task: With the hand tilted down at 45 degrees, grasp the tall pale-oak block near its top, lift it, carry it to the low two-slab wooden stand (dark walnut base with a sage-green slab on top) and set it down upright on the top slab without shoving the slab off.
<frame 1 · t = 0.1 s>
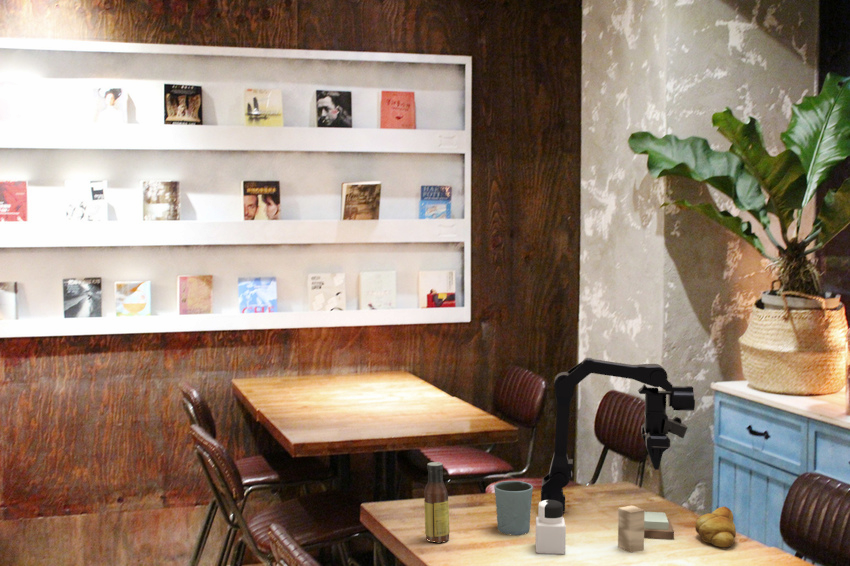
hand: (654, 465, 244), 15 cm above the table, tool pointing down, fingers open, 9 cm apart
sauce bottle: (436, 540, 225), on the table
bread roll: (715, 542, 225), on the table
sage slab: (650, 524, 232), point 2 cm above the table, touching walnut base slab
medicine bottle: (550, 549, 219), on the table
walnut base slab: (650, 531, 232), on the table
teal cup: (513, 530, 233), on the table
oak block: (630, 548, 220), on the table
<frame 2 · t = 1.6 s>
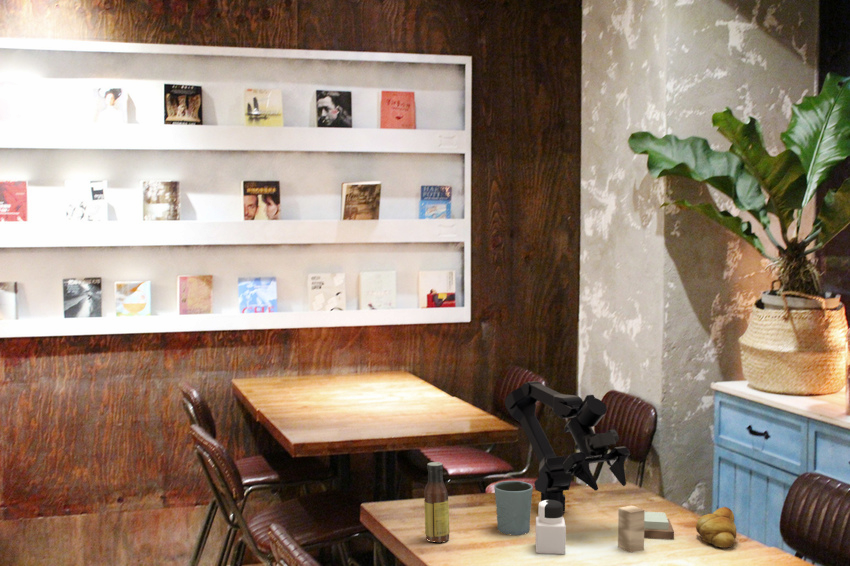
hand: (611, 487, 226), 13 cm above the table, tool tilted 45°, fingers open, 9 cm apart
nothing on the table moved.
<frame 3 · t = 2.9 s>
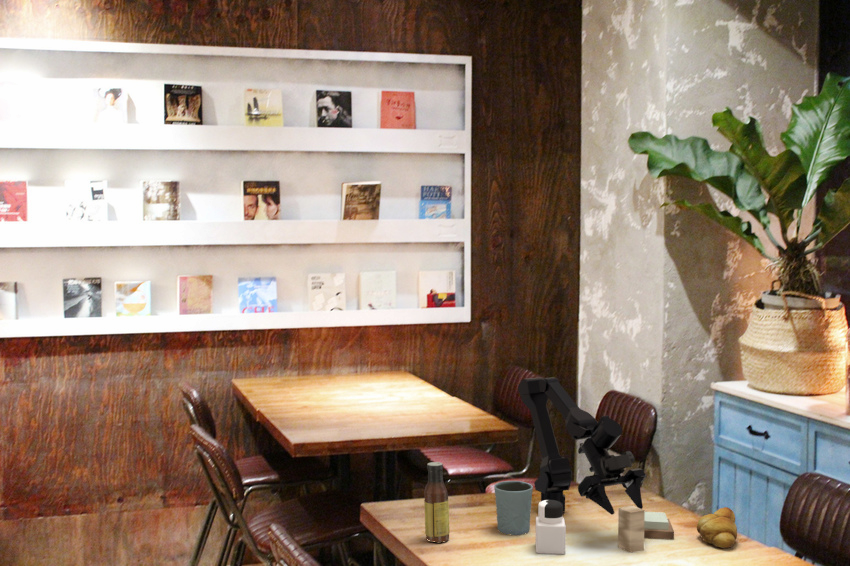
hand: (627, 511, 220), 9 cm above the table, tool tilted 45°, fingers open, 9 cm apart
nothing on the table moved.
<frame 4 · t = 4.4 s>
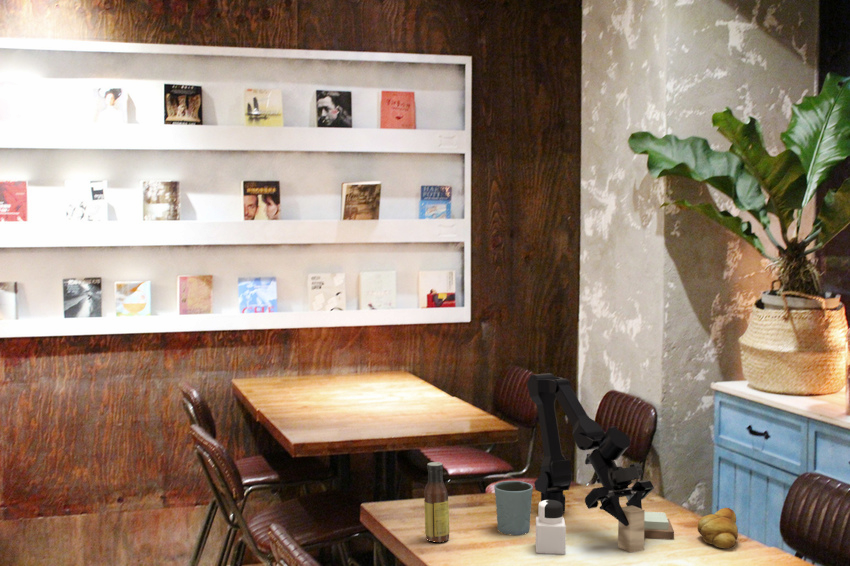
hand: (635, 523, 218), 7 cm above the table, tool tilted 45°, fingers closed on oak block, 4 cm apart
oak block: (630, 548, 220), on the table, touching gripper
everything else where it was.
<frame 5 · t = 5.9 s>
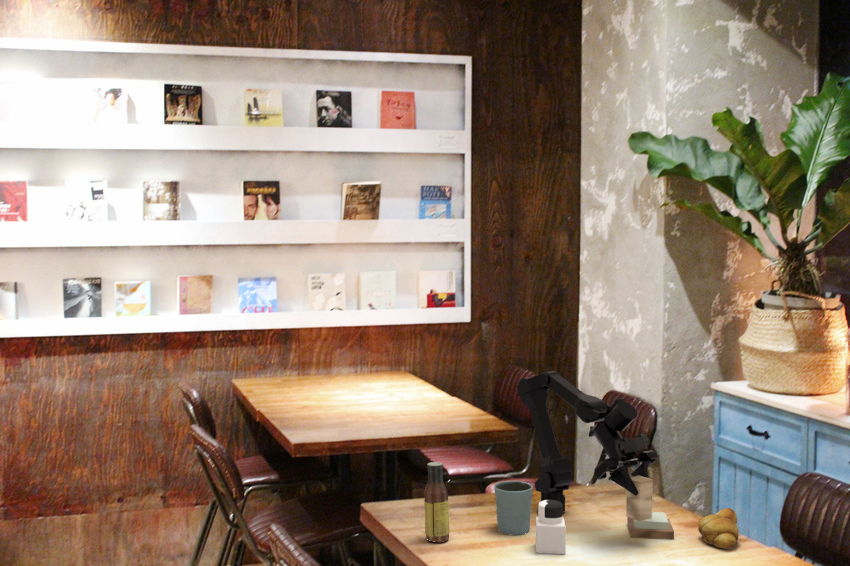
hand: (643, 493, 221), 13 cm above the table, tool tilted 45°, fingers closed on oak block, 4 cm apart
oak block: (638, 517, 222), point 7 cm above the table, touching gripper
when the fingers open (11 cm above the table, at t = 7.5 s): oak block stays where it is, resting on sage slab.
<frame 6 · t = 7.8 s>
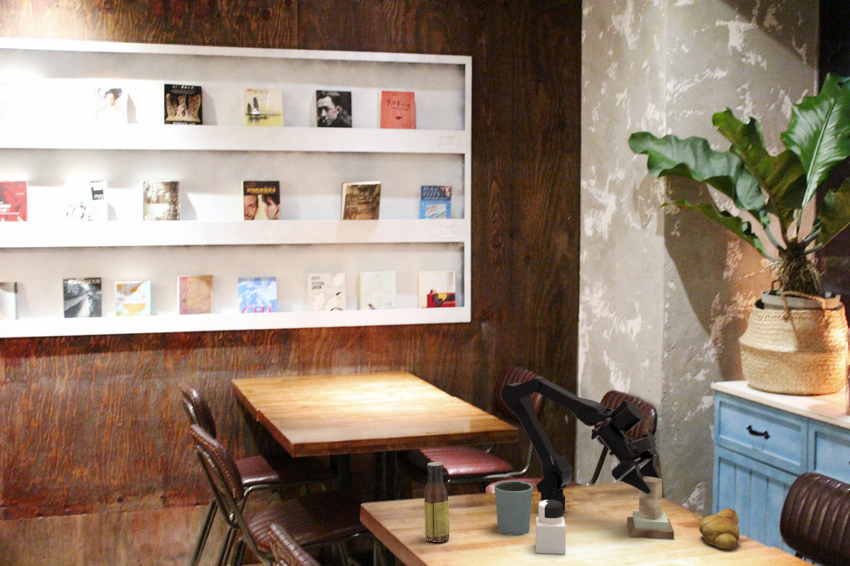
hand: (655, 489, 231), 12 cm above the table, tool tilted 45°, fingers open, 8 cm apart
sage slab: (650, 524, 232), point 2 cm above the table, touching oak block, walnut base slab
oak block: (650, 516, 232), point 4 cm above the table, touching sage slab
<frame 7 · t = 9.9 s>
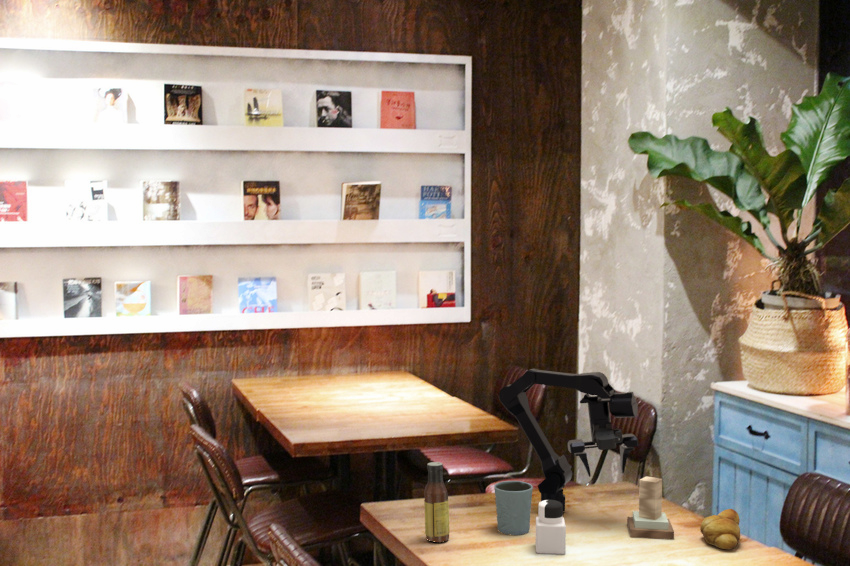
hand: (606, 474, 242), 13 cm above the table, tool pointing down, fingers open, 9 cm apart
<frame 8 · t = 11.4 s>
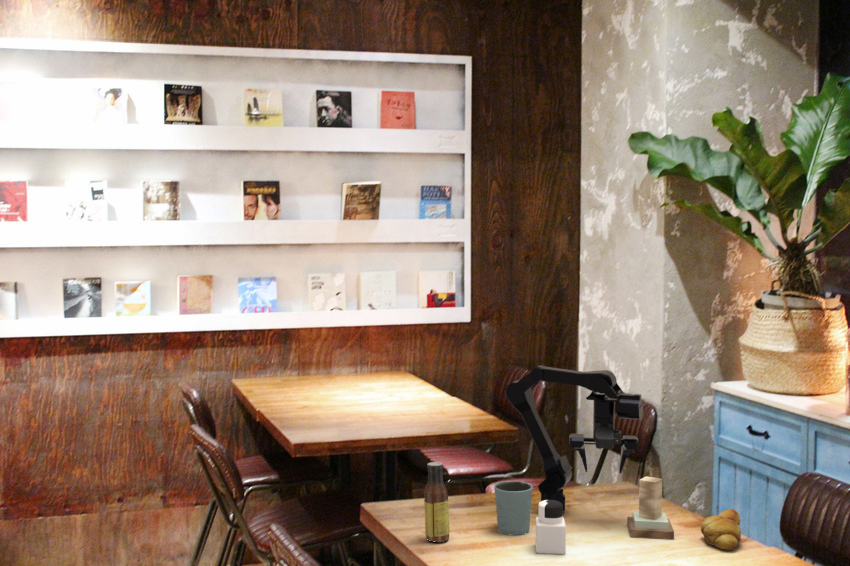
hand: (603, 472, 243), 13 cm above the table, tool pointing down, fingers open, 9 cm apart
at the end: oak block inside the target area on the sage slab (0.0 cm from its centre), point 2.0 cm above the sage slab's base; oak block tilted 0°; sage slab inside the target area (0.0 cm from its centre), point 2.0 cm above the table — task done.
